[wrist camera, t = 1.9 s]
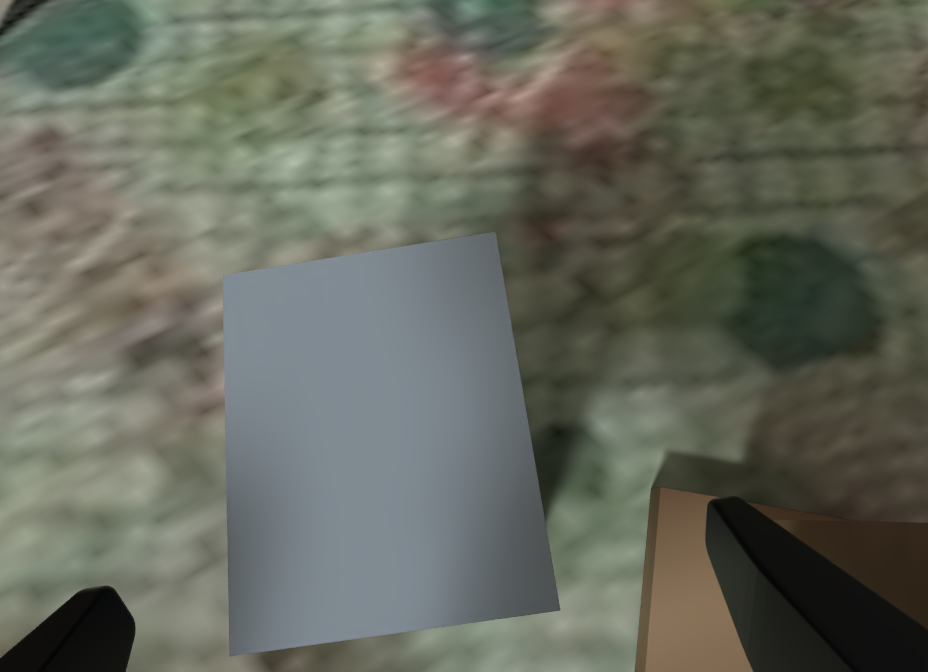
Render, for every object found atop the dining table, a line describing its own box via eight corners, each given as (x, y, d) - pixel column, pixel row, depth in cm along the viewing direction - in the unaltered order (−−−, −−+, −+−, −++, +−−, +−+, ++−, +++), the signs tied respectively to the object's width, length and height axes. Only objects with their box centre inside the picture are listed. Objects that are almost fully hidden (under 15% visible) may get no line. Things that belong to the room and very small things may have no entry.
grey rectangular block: (531, 552, 17) (560, 609, 7) (397, 571, 18) (229, 656, 7) (504, 388, 19) (495, 230, 8) (381, 406, 19) (222, 275, 9)
